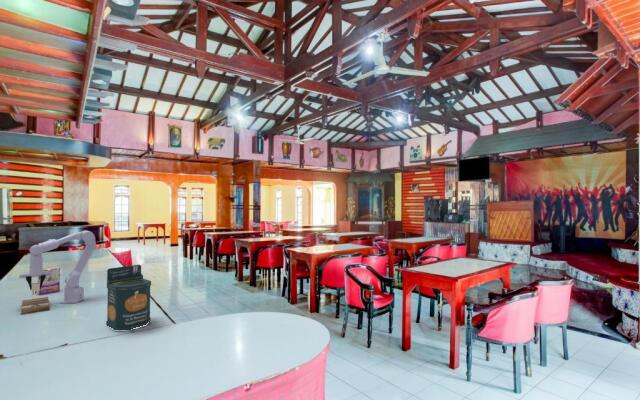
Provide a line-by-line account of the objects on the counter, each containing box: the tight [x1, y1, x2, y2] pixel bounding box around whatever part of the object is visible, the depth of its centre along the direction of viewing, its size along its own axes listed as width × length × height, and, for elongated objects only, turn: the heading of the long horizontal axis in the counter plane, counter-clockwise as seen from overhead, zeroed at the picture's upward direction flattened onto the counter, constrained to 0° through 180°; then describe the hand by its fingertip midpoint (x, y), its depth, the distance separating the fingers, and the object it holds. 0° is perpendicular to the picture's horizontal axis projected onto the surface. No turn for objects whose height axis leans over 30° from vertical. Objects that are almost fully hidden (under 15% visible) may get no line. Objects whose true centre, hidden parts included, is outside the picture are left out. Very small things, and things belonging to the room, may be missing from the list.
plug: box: [31, 282, 40, 295], centre depth 195 cm, size 4×4×6 cm
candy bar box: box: [37, 267, 61, 296], centre depth 226 cm, size 11×5×16 cm, turn 143°
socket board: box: [20, 296, 51, 316], centre depth 194 cm, size 24×12×2 cm, turn 41°
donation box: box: [105, 264, 152, 331], centre depth 166 cm, size 16×16×28 cm
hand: (35, 289), depth 195 cm, fingers closed on plug, 4 cm apart
